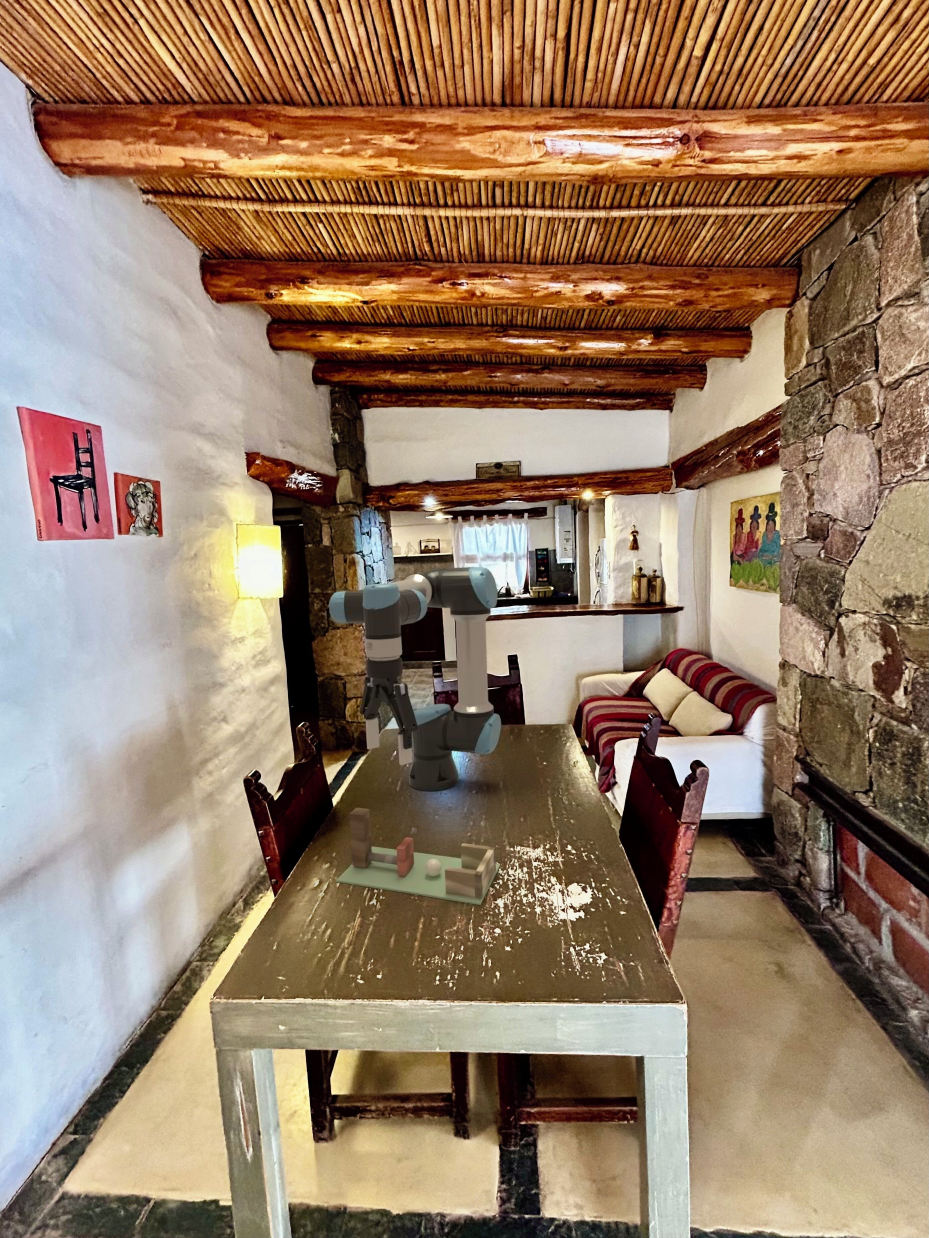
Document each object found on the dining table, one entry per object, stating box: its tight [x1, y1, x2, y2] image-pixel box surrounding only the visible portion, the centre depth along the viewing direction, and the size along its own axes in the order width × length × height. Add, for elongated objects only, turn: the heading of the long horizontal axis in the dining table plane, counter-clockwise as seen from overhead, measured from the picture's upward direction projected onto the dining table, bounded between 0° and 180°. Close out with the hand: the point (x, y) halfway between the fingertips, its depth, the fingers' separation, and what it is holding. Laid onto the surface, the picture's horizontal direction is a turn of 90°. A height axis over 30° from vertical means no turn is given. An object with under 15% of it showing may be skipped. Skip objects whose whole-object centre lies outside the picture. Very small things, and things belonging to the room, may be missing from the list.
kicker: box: [349, 807, 415, 876], centre depth 128 cm, size 5×13×12 cm, turn 72°
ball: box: [425, 859, 442, 877], centre depth 124 cm, size 4×4×4 cm
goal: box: [445, 842, 497, 899], centre depth 122 cm, size 11×7×5 cm, turn 162°
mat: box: [336, 845, 501, 906], centre depth 126 cm, size 15×32×1 cm, turn 72°
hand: (389, 755), depth 125 cm, fingers open, 13 cm apart
